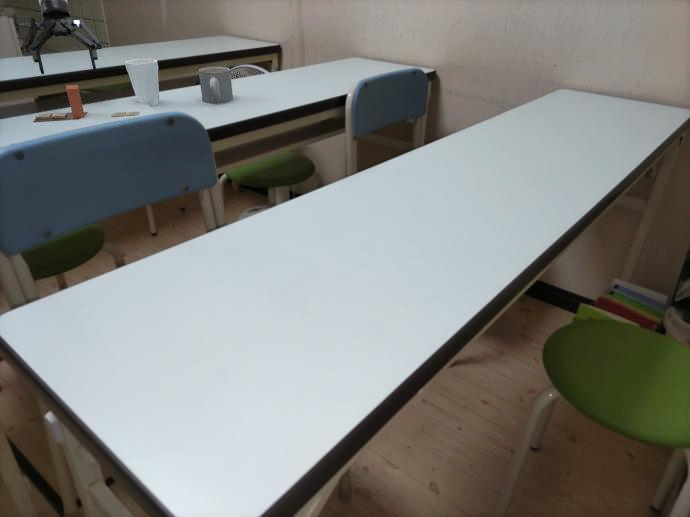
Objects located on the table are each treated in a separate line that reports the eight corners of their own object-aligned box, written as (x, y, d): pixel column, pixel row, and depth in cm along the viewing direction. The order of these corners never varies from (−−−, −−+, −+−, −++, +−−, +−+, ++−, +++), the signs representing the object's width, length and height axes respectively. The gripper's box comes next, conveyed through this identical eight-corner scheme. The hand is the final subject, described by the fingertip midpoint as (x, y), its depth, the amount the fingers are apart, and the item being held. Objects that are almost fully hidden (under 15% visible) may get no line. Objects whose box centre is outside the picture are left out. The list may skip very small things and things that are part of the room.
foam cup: (127, 104, 162) (118, 61, 156) (153, 99, 168) (146, 57, 162) (143, 109, 157) (135, 65, 150) (170, 103, 163) (163, 61, 157)
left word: (34, 124, 141) (32, 119, 140) (40, 116, 147) (38, 111, 146) (85, 122, 144) (84, 117, 143) (89, 115, 150) (87, 109, 150)
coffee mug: (208, 97, 174) (204, 66, 168) (236, 98, 173) (233, 67, 168) (194, 107, 162) (190, 74, 157) (225, 108, 161) (221, 75, 156)
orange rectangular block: (73, 118, 144) (66, 89, 140) (72, 113, 147) (66, 85, 143) (85, 117, 145) (78, 88, 141) (84, 113, 149) (77, 84, 145)
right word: (94, 124, 143) (92, 118, 142) (97, 116, 149) (96, 111, 149) (139, 122, 146) (138, 116, 145) (140, 114, 153) (139, 109, 152)
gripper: (101, 15, 158) (116, 75, 154) (8, 16, 148) (22, 80, 144) (99, -3, 151) (114, 59, 148) (1, -3, 141) (15, 64, 138)
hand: (68, 70), depth 146 cm, fingers open, 13 cm apart
